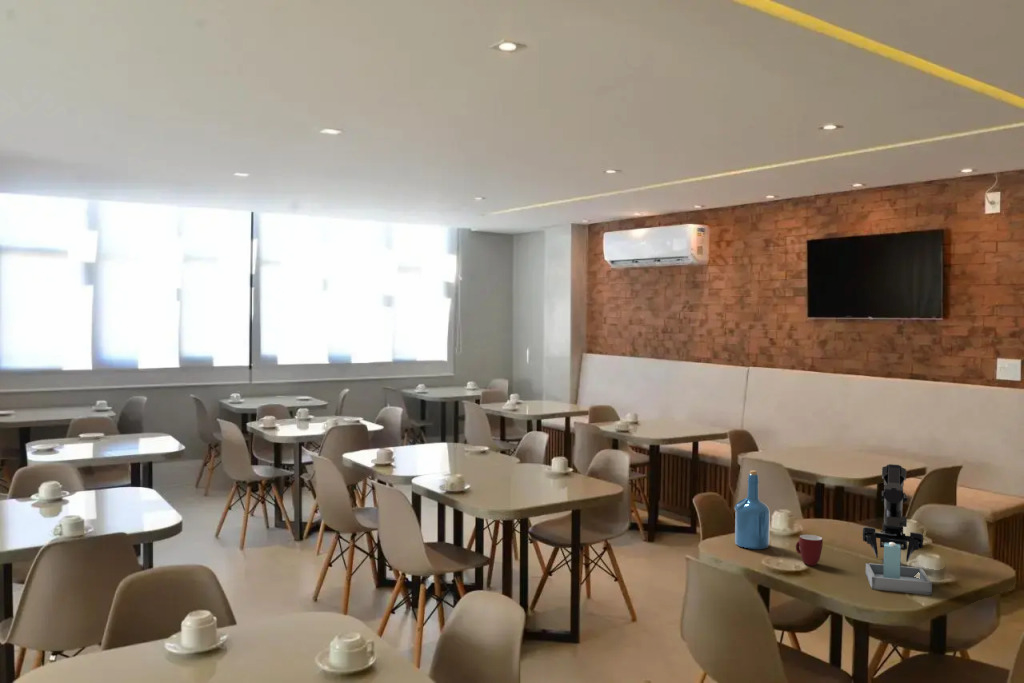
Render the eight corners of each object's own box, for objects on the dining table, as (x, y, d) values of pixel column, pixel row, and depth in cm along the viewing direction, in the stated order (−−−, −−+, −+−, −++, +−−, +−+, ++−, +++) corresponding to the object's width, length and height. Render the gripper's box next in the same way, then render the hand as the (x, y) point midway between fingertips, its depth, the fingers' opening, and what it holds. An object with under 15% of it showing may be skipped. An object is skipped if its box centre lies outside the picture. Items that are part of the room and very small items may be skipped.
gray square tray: (865, 574, 280) (865, 562, 280) (921, 579, 275) (921, 568, 275) (871, 589, 264) (872, 577, 264) (931, 595, 259) (932, 583, 259)
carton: (883, 578, 272) (884, 539, 272) (899, 580, 270) (900, 541, 270) (883, 582, 268) (884, 542, 268) (899, 584, 266) (900, 544, 266)
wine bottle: (766, 542, 321) (767, 468, 320) (772, 551, 308) (773, 474, 307) (731, 540, 323) (733, 467, 322) (736, 549, 310) (737, 473, 309)
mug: (788, 561, 294) (788, 535, 294) (801, 558, 299) (801, 532, 299) (813, 568, 286) (814, 541, 285) (826, 565, 290) (827, 538, 290)
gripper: (863, 503, 276) (861, 542, 267) (923, 509, 268) (923, 550, 258) (864, 521, 284) (862, 559, 274) (922, 527, 275) (922, 567, 266)
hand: (891, 559), depth 268 cm, fingers open, 9 cm apart
